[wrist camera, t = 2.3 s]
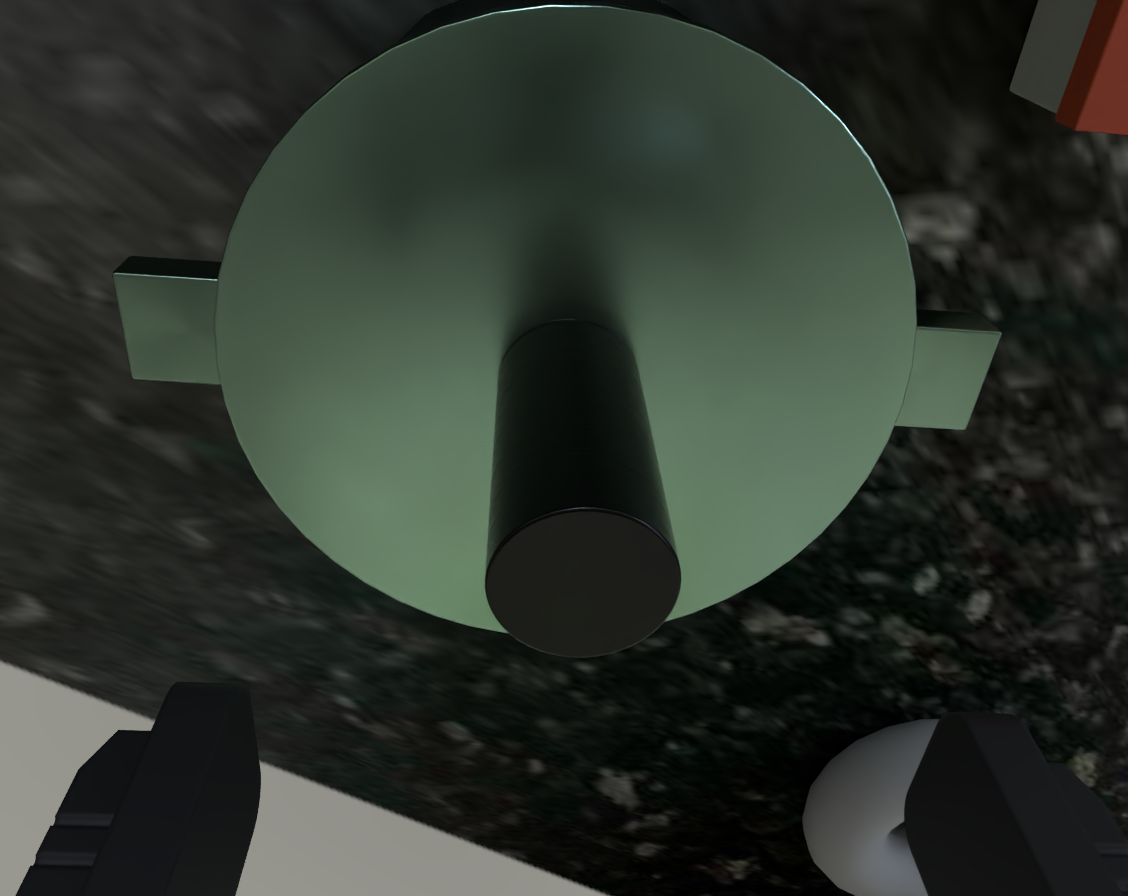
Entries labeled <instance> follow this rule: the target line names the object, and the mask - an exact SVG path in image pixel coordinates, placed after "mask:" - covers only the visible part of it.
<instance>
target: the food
mask: <svg viewBox="0 0 1128 896" xmlns="http://www.w3.org/2000/svg"><path fill="white" fill-rule="evenodd" d="M1010 91H1011V92H1013V93H1015V94H1017V95H1019V96H1021V97H1023V98H1025V99H1027V100H1029V101H1031V102H1033V103H1036V104H1038V105H1040V106H1042V107H1044V108H1046V109H1048V110H1050V111H1052V112H1054V113H1056V116H1055V121H1057V122H1059V123H1061V124H1063V125H1065V126H1067V127H1069V128H1071V129H1073V130H1076V131H1087V132H1099V133H1111V134H1123V135H1128V0H1038V3H1037V6H1036V9H1035V12H1034V15H1033V18H1032V21H1031V24H1030V27H1029V30H1028V33H1027V36H1026V40H1025V43H1024V46H1023V49H1022V52H1021V55H1020V58H1019V61H1018V64H1017V67H1016V70H1015V73H1014V76H1013V79H1012V82H1011V85H1010Z"/></svg>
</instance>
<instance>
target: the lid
mask: <svg viewBox="0 0 1128 896" xmlns="http://www.w3.org/2000/svg"><path fill="white" fill-rule="evenodd" d="M916 329H917V310H916V286H915V277H914V272H913V267H912V262H911V257H910V252H909V246H908V241H907V237H906V235H905V232H904V229H903V226H902V223H901V221H900V218H899V215H898V212H897V210H896V207H895V204H894V201H893V198H892V196H891V194H890V192H889V191H888V189H887V187H886V185H885V183H884V181H883V180H882V178H881V176H880V174H879V172H878V170H877V169H876V167H875V165H874V163H873V161H872V159H871V158H870V156H869V155H868V153H867V152H866V151H865V149H864V148H863V147H862V146H861V144H860V143H859V142H858V140H857V139H856V138H855V136H854V135H853V134H852V133H851V131H850V130H849V129H848V127H847V126H846V125H845V123H844V122H843V121H842V120H841V118H840V117H839V116H838V115H837V114H836V113H835V112H833V111H832V110H831V109H830V108H829V107H828V106H827V105H826V104H825V103H824V102H823V101H822V100H821V99H820V98H819V97H818V96H817V95H816V94H815V93H813V92H812V91H811V90H810V89H809V88H808V87H807V86H806V85H805V84H804V83H803V82H802V81H800V80H799V79H798V78H796V77H795V76H793V75H792V74H791V73H789V72H788V71H786V70H785V69H783V68H782V67H781V66H779V65H778V64H776V63H775V62H773V61H772V60H770V59H769V58H768V57H766V56H765V55H763V54H762V53H760V52H759V51H758V50H756V49H754V48H752V47H750V46H748V45H746V44H744V43H742V42H740V41H737V40H735V39H733V38H731V37H729V36H727V35H725V34H723V33H721V32H719V31H717V30H715V29H713V28H711V27H709V26H705V25H702V24H699V23H696V22H693V21H690V20H687V19H684V18H680V17H677V16H674V15H671V14H668V13H665V12H662V11H658V10H652V9H646V8H640V7H634V6H628V5H622V4H616V3H610V2H590V1H544V2H536V3H528V4H520V5H513V6H505V7H497V8H492V9H489V10H485V11H482V12H478V13H474V14H471V15H467V16H464V17H460V18H456V19H453V20H449V21H445V22H442V23H440V24H438V25H435V26H433V27H431V28H429V29H426V30H424V31H422V32H419V33H417V34H415V35H413V36H410V37H408V38H406V39H404V40H401V41H399V42H397V43H395V44H393V45H391V46H389V47H388V48H386V49H385V50H383V51H381V52H380V53H378V54H377V55H375V56H374V57H372V58H370V59H369V60H367V61H366V62H364V63H362V64H361V65H359V66H358V67H356V68H355V69H353V70H351V71H350V72H348V73H347V74H346V75H345V76H344V77H343V78H341V79H340V80H339V81H338V82H337V83H336V84H334V85H333V86H332V87H331V88H330V89H329V90H327V91H326V92H325V93H324V94H323V95H322V96H320V97H319V98H318V99H317V100H316V101H315V102H314V103H312V104H311V105H310V106H309V107H308V108H307V109H306V111H305V112H304V113H303V114H302V115H301V116H300V118H299V119H298V120H297V121H296V122H295V123H294V125H293V126H292V127H291V128H290V129H289V130H288V132H287V133H286V134H285V135H284V136H283V137H282V139H281V140H280V141H279V142H278V143H277V144H276V146H275V147H274V148H273V149H272V151H271V152H270V154H269V156H268V157H267V159H266V160H265V162H264V164H263V165H262V167H261V168H260V170H259V172H258V173H257V175H256V177H255V178H254V180H253V181H252V183H251V185H250V186H249V188H248V189H247V192H246V194H245V196H244V199H243V201H242V203H241V206H240V208H239V210H238V213H237V215H236V217H235V220H234V222H233V225H232V227H231V229H230V232H229V235H228V239H227V243H226V247H225V250H224V254H223V258H222V262H221V266H220V270H219V274H218V281H217V292H216V302H215V313H214V332H215V350H216V363H217V368H218V373H219V378H220V383H221V388H222V393H223V397H224V402H225V405H226V408H227V411H228V414H229V416H230V419H231V422H232V425H233V428H234V430H235V433H236V436H237V439H238V441H239V443H240V445H241V447H242V449H243V451H244V453H245V455H246V457H247V459H248V461H249V462H250V464H251V466H252V468H253V470H254V472H255V474H256V476H257V477H258V479H259V480H260V482H261V483H262V484H263V486H264V487H265V489H266V490H267V492H268V493H269V494H270V496H271V497H272V499H273V500H274V502H275V503H276V504H277V506H278V507H279V509H280V510H281V511H282V512H283V513H284V514H285V515H286V516H287V517H288V519H289V520H290V521H291V522H292V523H293V524H294V525H295V526H296V527H297V528H298V530H299V531H300V532H301V533H302V534H303V535H304V536H305V537H306V538H307V539H308V540H309V541H311V542H312V543H313V544H314V545H315V546H316V547H317V548H319V549H320V550H321V551H322V552H323V553H324V554H325V555H327V556H328V557H329V558H330V559H331V560H332V561H333V562H335V563H336V564H338V565H339V566H341V567H342V568H344V569H345V570H347V571H348V572H349V573H351V574H352V575H354V576H355V577H357V578H358V579H360V580H361V581H363V582H364V583H366V584H367V585H369V586H371V587H373V588H375V589H377V590H379V591H380V592H382V593H384V594H386V595H388V596H390V597H392V598H393V599H395V600H397V601H399V602H402V603H404V604H407V605H409V606H411V607H414V608H416V609H419V610H421V611H424V612H426V613H429V614H431V615H434V616H437V617H440V618H444V619H447V620H451V621H454V622H457V623H461V624H464V625H468V626H472V627H477V628H483V629H488V630H493V631H498V632H504V633H509V634H510V635H512V636H513V637H514V638H516V639H517V640H519V641H520V642H522V643H524V644H526V645H527V646H529V647H532V648H534V649H537V650H539V651H542V652H545V653H549V654H553V655H558V656H565V657H594V656H601V655H606V654H611V653H614V652H618V651H621V650H624V649H626V648H628V647H631V646H633V645H635V644H637V643H639V642H640V641H642V640H644V639H645V638H647V637H648V636H650V635H651V634H652V633H653V632H655V631H656V630H657V629H658V628H659V627H660V626H661V625H662V624H663V623H664V622H666V621H669V620H673V619H676V618H679V617H682V616H686V615H689V614H692V613H694V612H697V611H699V610H702V609H704V608H706V607H709V606H711V605H714V604H716V603H718V602H721V601H723V600H726V599H728V598H729V597H731V596H733V595H735V594H737V593H739V592H740V591H742V590H744V589H746V588H748V587H750V586H752V585H753V584H755V583H757V582H759V581H761V580H762V579H763V578H765V577H766V576H768V575H769V574H771V573H772V572H774V571H775V570H777V569H778V568H780V567H781V566H782V565H784V564H785V563H787V562H788V561H790V560H791V559H792V558H793V557H795V556H796V555H797V554H798V553H799V552H800V551H802V550H803V549H804V548H805V547H806V546H807V545H809V544H810V543H811V542H812V541H813V540H815V539H816V538H817V537H818V536H819V535H820V534H821V533H822V532H823V531H824V530H825V529H826V528H827V527H828V526H829V525H830V523H831V522H832V521H833V520H834V519H835V518H836V517H837V516H838V515H839V514H840V513H841V512H842V511H843V510H844V508H845V507H846V506H847V505H848V503H849V502H850V501H851V499H852V498H853V497H854V495H855V494H856V493H857V491H858V490H859V488H860V487H861V486H862V484H863V483H864V482H865V480H866V479H867V478H868V476H869V475H870V473H871V471H872V469H873V467H874V466H875V464H876V462H877V460H878V459H879V457H880V455H881V453H882V451H883V450H884V448H885V446H886V444H887V442H888V440H889V438H890V435H891V433H892V430H893V428H894V425H895V423H896V420H897V418H898V415H899V413H900V410H901V408H902V405H903V402H904V398H905V394H906V390H907V386H908V382H909V378H910V374H911V370H912V366H913V357H914V348H915V338H916Z"/></svg>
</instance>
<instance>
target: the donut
mask: <svg viewBox="0 0 1128 896" xmlns="http://www.w3.org/2000/svg"><path fill="white" fill-rule="evenodd" d="M938 721H939V719H920V720H915V721H911V722H907V723H902V724H898V725H893V726H889V727H886V728H883V729H881V730H879V731H877V732H874V733H872V734H870V735H868V736H865V737H863V738H861V739H859V740H857V741H855V742H854V743H852V744H851V745H850V746H848V747H847V748H846V749H844V750H843V751H842V752H841V753H839V754H838V755H837V756H835V757H834V758H833V759H831V760H830V762H829V763H828V764H827V765H826V766H825V768H824V769H823V770H822V772H821V773H820V774H819V776H818V777H817V778H816V780H815V781H814V782H813V784H812V785H811V787H810V790H809V794H808V798H807V802H806V806H805V810H804V814H803V818H802V821H803V830H804V834H805V838H806V841H807V845H808V849H809V852H810V854H811V856H812V859H813V861H814V863H815V864H816V865H817V866H818V867H819V868H820V869H821V870H822V871H823V872H824V873H825V874H826V875H827V876H828V877H829V878H830V879H831V880H832V881H833V882H834V884H835V885H836V886H837V887H838V888H841V889H843V890H845V891H847V892H849V893H851V894H853V895H855V896H928V894H927V892H926V889H925V887H924V884H923V882H922V879H921V876H920V874H919V871H918V869H917V866H916V863H915V861H914V858H913V856H912V853H911V850H910V847H909V845H908V841H907V837H906V831H905V823H904V806H905V799H906V794H907V792H908V789H909V787H910V784H911V782H912V780H913V778H914V775H915V773H916V771H917V768H918V766H919V764H920V762H921V759H922V757H923V755H924V752H925V750H926V748H927V746H928V743H929V741H930V739H931V736H932V734H933V732H934V730H935V727H936V725H937V723H938Z"/></svg>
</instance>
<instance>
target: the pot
mask: <svg viewBox="0 0 1128 896" xmlns="http://www.w3.org/2000/svg"><path fill="white" fill-rule="evenodd" d="M544 1H590V2H610V3H616V4H622V5H628V6H634V7H640V8H646V9H652V10H658V11H662V12H665V13H668V14H671V15H674V16H677V17H680V18H684V19H687V20H690V19H688V18H686V17H685V16H683V15H682V14H680V13H679V12H678V11H676V10H675V9H673V8H671V7H669V6H667V5H665V4H663V3H661V2H659V1H657V0H458V1H456V2H454V3H451V4H449V5H446V6H443V7H440V8H437V9H435V10H432V11H431V12H430V13H428V14H426V15H425V16H424V17H422V18H421V19H420V20H419V21H418V22H417V23H416V24H415V25H414V26H413V27H412V28H411V29H410V30H409V31H408V32H407V33H406V34H405V35H404V36H403V37H402V38H401V39H400V40H399V41H401V40H404V39H406V38H408V37H410V36H413V35H415V34H417V33H419V32H422V31H424V30H426V29H429V28H431V27H433V26H435V25H438V24H440V23H442V22H445V21H449V20H453V19H456V18H460V17H464V16H467V15H471V14H474V13H478V12H482V11H485V10H489V9H492V8H497V7H505V6H513V5H520V4H528V3H536V2H544ZM690 21H691V20H690ZM399 41H398V42H399ZM220 266H221V262H214V261H200V260H185V259H171V258H156V257H142V256H130V257H128V258H127V259H126V260H125V261H124V262H123V263H122V264H121V265H120V266H119V267H118V268H117V269H116V270H115V271H114V272H113V275H112V277H113V282H114V287H115V292H116V298H117V303H118V308H119V314H120V319H121V324H122V330H123V335H124V340H125V346H126V351H127V356H128V362H129V367H130V372H131V377H132V379H134V380H144V381H161V382H178V383H195V384H212V385H221V383H220V378H219V373H218V368H217V363H216V350H215V332H214V313H215V302H216V292H217V281H218V274H219V270H220ZM916 310H917V329H916V338H915V348H914V357H913V366H912V370H911V374H910V378H909V382H908V386H907V390H906V394H905V398H904V402H903V405H902V408H901V410H900V413H899V415H898V418H897V420H896V423H895V425H894V426H908V427H925V428H942V429H958V430H965V429H966V428H967V425H968V422H969V420H970V417H971V414H972V412H973V409H974V406H975V404H976V401H977V398H978V396H979V393H980V390H981V388H982V385H983V382H984V380H985V377H986V374H987V372H988V369H989V366H990V363H991V361H992V358H993V355H994V353H995V350H996V347H997V345H998V342H999V339H1000V337H1001V332H1000V331H999V330H998V329H997V328H996V327H995V326H994V325H993V324H992V323H991V322H990V321H989V319H988V318H987V317H986V316H985V315H984V314H981V313H966V312H951V311H937V310H922V309H916Z"/></svg>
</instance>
